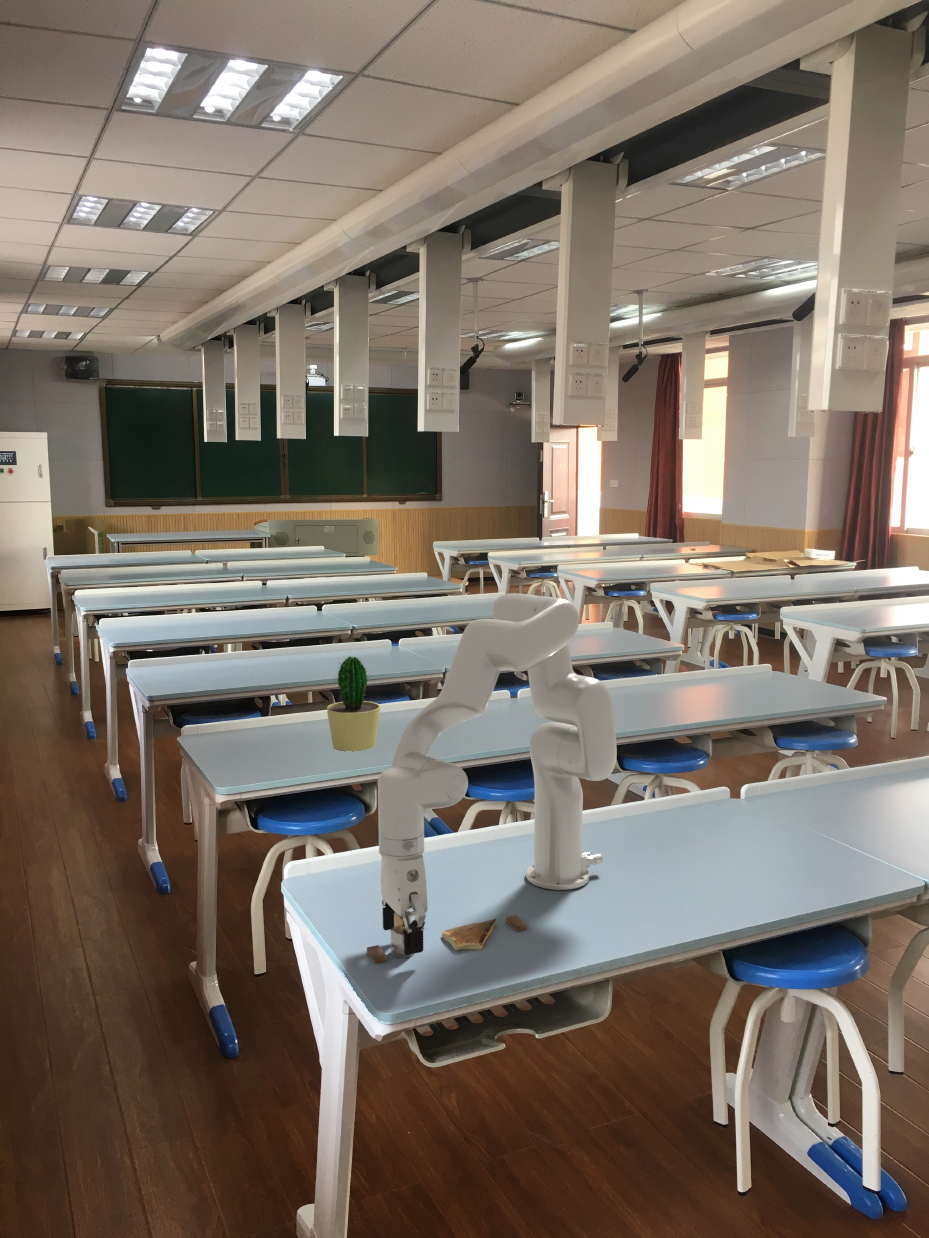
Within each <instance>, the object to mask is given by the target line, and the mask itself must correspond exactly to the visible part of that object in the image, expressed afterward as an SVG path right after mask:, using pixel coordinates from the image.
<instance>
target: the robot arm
mask: <svg viewBox="0 0 929 1238" xmlns="http://www.w3.org/2000/svg"><path fill="white" fill-rule="evenodd" d="M491 612H492V618H478V619H475V620H472V621H471V622H469V623H468V624H467V626H466V627H465V628H464V631H463V632H462V635H461V638H460V641H459V643H458V646H457V649H456V650H455V654H454V656H453V659H452V662H451V664H450V667H449V670H448V672H447V675H446V678H445V680H444V683H443V685H442V688H441V691H440V693H439V695H437V697H436V698H435V699H433V700H432V701H431V702H430V703H429V704H427V705H426V706H425V707H424V708H423V709H422V710H421V711H420V712H418V714H417V715H416V716H415V717H414V718H413V719H412V720H411V721H410V722H409V724H408V725H407V726H406V727H405V730H404V731H403V733H402V735H401V737H400V739H399V742H398V743H397V747H396V750H395V752H394V754H393V757H392V758H393V759H392V762H391V766H390V768H386V769H384V770H383V771H382V772H381V773H380V774H379V776H378V779H377V796H378V797H377V804H378V805H377V807H378V808H377V809H378V812H377V813H378V814H377V815H378V853H379V855H380V856H381V862H380V863H381V866H380V888H381V889H380V890H381V892H380V893H381V896H382V899H381V905H382V929H383V930H384V931H391V929H392V928H393V927H394V912H396V913H397V914H398V915H399V916H401V917H403V920H404V924H405V928H406V931H404V953H405V954H406V955H411V954H414V955H416V954H419V953H423V951H424V930H425V924H426V921H425V920H426V916H427V914H426V913H427V912H428V910H429V909H428V908H429V906H428V889H427V875H426V867H425V861H424V856H423V854H424V853H425V812H426V811H427V810H433V809H435V810H436V809H443V808H448V807H451V806H454V805H456V804H458V803H459V802H460V801H461V800H462V799H463V798H464V797H465V795H466V794H467V792H468V788H469V779H468V776H467V774H466V772H465V771H464V770H463V768H462V767H460V766H458V765H457V764H455V763H452V762H449V761H445V760H442V759H439V758H434V757H432V756H429V753H430V750H431V748H432V746H433V744H434V743H435V741H436V740H437V739H438V738H439V737H440V736H441V735H442V734H443V733H444V732H445V731H446V730H448V729H450V728H452V727H454V726H457V725H459V724H461V723H464V722H467V721H469V720H473V719H475V718H478V717H481V716H482V715H484V713H485V712H486V711H487V708H488V706H489V702H490V699H491V697H492V695H493V692H494V689H495V686H496V684H497V681H498V678H499V675H500V673H501V670H506V671H511V672H512V671H513V672H519V673H520V672H525V671H527V676H528V682H529V691H530V699H531V704H532V708H533V710H534V713H535V714H536V715H537V716H538V717H540V718H542V719H545V720H547V722H545V723H542V724H540V725H538V726H537V727H536V728H535V729H534V731H533V732H532V734H531V736H530V741H529V755H530V760H531V765H532V772H533V781H534V808H533V809H534V811H533V812H534V814H533V815H534V823H533V824H534V825H533V826H534V827H533V829H534V830H533V832H534V836H533V837H534V838H533V840H534V843H533V844H534V845H533V864H531V865H530V866H528V868H526V872H525V873H526V874H525V877H526V880H528V882H530V884H532V885H533V886H536V887H538V888H541V889H546V890H554V891H568V890H575V889H578V888H581V887H583V886H585V885H587V884H588V883H589V881H590V872H589V870H588V869H587V868H590V866H593V865H595V866H596V865H600V864H603V861H604V858H603V855H602V854H601V853H596V854H592V855H591V853H590V851H589V852H587V851H586V852H583V811H584V810H583V804H584V796H583V795H584V793H583V788H582V784H581V781H580V779H583V780H587V781H594V782H596V781H597V782H598V781H599V782H600V781H604V780H606V779H607V778H608V777H609V776H611V775H612V773H613V771H614V769H615V765H616V763H617V756H618V755H617V738H616V729H615V728H616V726H615V716H614V715H615V714H614V707H613V700H612V696H611V693H610V690H609V689H608V687H607V686H606V684H604V682H602V681H601V680H600V679H597V678H595V677H590V676H585V675H579V674H577V673H576V672H575V671H574V669H573V664H572V658H571V652H570V647H569V643H570V642H571V641H572V639H573V638H574V637H575V635H576V633H577V631H578V628H579V624H580V623H579V622H580V617H579V616H580V615H579V613H578V609H577V608H576V606H575V605H574V604H573V603H572V602H571V601H569V600H567V599H566V598H561V597H552V596H544V595H543V596H542V595H536V594H526V593H514V592H513V593H506V594H502V595H500V596H499V597H497V598H496V599H495V601H494V602H493V604H492V610H491ZM548 720H549V722H548ZM550 721H552V722H550ZM407 910H408V911H410V910H413V911H410V912H407V913H406V911H407ZM409 917H411V918H412V917H414V919H413V920H411V924H410V921H409Z"/></svg>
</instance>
